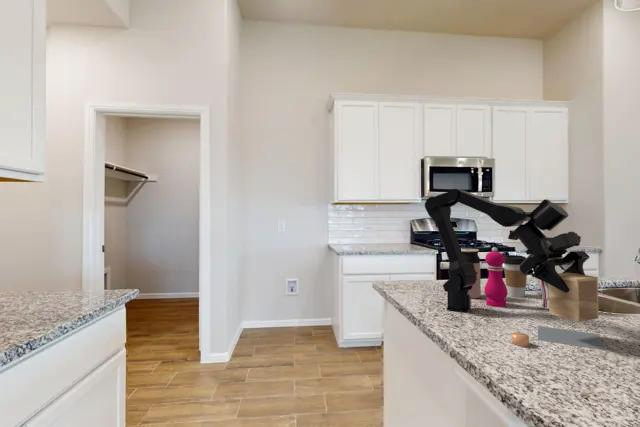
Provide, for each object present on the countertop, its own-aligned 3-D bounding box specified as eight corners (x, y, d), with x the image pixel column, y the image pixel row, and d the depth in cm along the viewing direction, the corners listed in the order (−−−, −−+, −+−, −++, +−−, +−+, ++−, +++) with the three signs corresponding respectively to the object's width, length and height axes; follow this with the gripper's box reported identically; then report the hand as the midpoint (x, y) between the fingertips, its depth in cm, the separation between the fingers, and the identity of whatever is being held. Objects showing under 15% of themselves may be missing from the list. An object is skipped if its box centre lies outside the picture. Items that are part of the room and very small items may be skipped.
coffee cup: (525, 293, 131) (524, 255, 132) (531, 298, 123) (530, 257, 124) (501, 292, 134) (500, 254, 134) (506, 297, 126) (505, 257, 126)
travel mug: (474, 293, 133) (473, 248, 133) (484, 298, 125) (483, 250, 125) (454, 294, 133) (453, 248, 133) (463, 299, 125) (462, 250, 125)
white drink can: (569, 311, 107) (567, 264, 107) (544, 310, 108) (543, 264, 108) (558, 305, 114) (557, 261, 114) (535, 304, 115) (534, 261, 115)
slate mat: (537, 341, 83) (537, 339, 83) (538, 327, 93) (538, 325, 93) (606, 352, 76) (606, 350, 76) (598, 335, 86) (598, 334, 86)
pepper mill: (480, 302, 120) (479, 246, 120) (499, 301, 121) (498, 245, 121) (492, 307, 113) (490, 248, 113) (512, 306, 113) (511, 247, 113)
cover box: (549, 313, 85) (548, 274, 85) (569, 310, 88) (568, 272, 88) (578, 321, 79) (577, 279, 79) (598, 318, 81) (597, 277, 81)
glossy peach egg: (511, 346, 80) (510, 336, 80) (512, 341, 83) (512, 331, 83) (528, 349, 78) (528, 338, 78) (529, 344, 81) (529, 334, 81)
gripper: (528, 222, 84) (575, 273, 73) (580, 220, 90) (631, 267, 79) (503, 250, 91) (542, 300, 81) (552, 247, 97) (595, 293, 87)
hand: (578, 290), depth 82 cm, fingers closed on cover box, 7 cm apart
